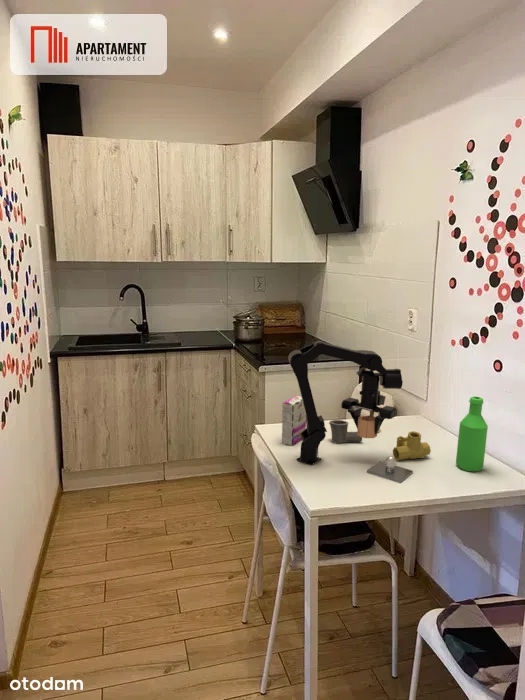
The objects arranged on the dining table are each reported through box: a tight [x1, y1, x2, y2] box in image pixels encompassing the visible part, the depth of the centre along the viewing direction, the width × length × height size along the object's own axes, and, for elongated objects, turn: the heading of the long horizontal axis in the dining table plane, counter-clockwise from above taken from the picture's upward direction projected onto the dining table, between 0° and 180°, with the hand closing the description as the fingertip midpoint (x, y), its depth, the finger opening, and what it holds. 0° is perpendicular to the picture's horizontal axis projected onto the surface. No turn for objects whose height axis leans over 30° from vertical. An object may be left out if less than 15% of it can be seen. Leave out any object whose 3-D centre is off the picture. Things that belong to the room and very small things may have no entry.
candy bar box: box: [281, 395, 306, 447], centre depth 197 cm, size 11×5×16 cm, turn 148°
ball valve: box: [392, 431, 432, 461], centre depth 186 cm, size 13×10×10 cm
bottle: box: [455, 396, 489, 472], centre depth 176 cm, size 9×9×25 cm
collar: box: [356, 413, 378, 439], centre depth 179 cm, size 6×6×7 cm
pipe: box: [328, 419, 363, 444], centre depth 198 cm, size 6×13×8 cm, turn 89°
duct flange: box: [366, 455, 414, 484], centre depth 172 cm, size 10×12×6 cm
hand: (367, 431), depth 180 cm, fingers closed on collar, 6 cm apart
